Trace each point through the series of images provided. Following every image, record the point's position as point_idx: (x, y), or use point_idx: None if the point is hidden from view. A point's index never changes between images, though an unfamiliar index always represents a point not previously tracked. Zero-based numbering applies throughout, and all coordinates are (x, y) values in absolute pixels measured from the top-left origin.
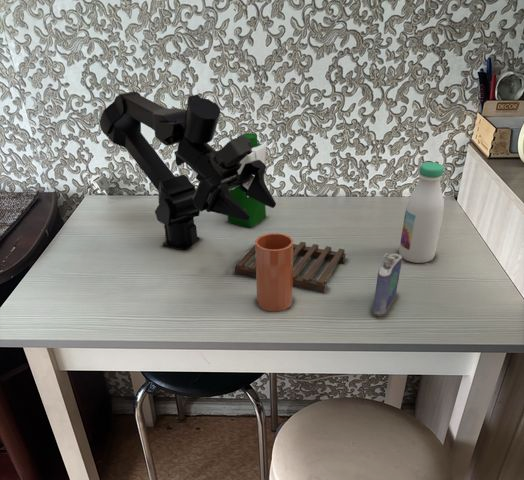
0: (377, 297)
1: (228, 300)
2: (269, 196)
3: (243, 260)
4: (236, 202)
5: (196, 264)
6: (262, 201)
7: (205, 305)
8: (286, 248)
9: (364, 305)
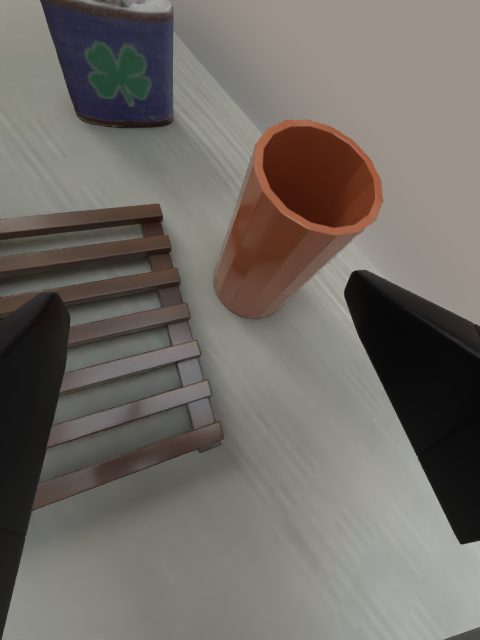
0: (172, 77)
1: (310, 365)
2: (20, 333)
3: (188, 439)
4: (457, 330)
5: (248, 593)
6: (47, 411)
7: (355, 391)
8: (325, 126)
9: (151, 142)
